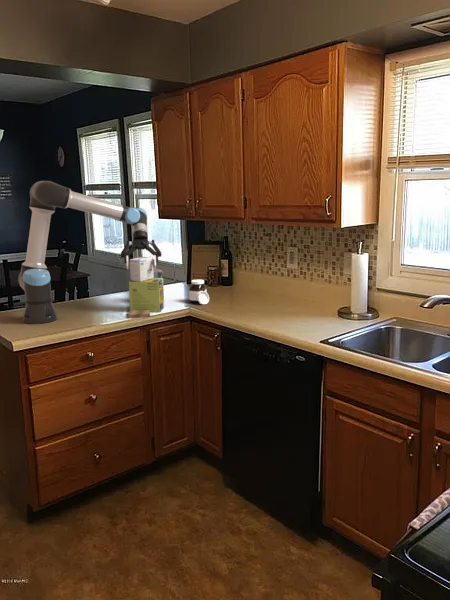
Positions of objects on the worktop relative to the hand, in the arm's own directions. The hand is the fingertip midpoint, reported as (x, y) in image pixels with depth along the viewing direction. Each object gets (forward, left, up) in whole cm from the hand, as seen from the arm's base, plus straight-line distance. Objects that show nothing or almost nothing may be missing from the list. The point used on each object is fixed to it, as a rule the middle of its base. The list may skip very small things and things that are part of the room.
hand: (141, 267), depth 260 cm
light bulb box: (0, +2, -7) cm, 7 cm away
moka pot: (+5, +18, -22) cm, 29 cm away
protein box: (+2, +1, -22) cm, 22 cm away
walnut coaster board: (-2, -10, -22) cm, 24 cm away
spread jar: (+30, +12, -22) cm, 39 cm away
